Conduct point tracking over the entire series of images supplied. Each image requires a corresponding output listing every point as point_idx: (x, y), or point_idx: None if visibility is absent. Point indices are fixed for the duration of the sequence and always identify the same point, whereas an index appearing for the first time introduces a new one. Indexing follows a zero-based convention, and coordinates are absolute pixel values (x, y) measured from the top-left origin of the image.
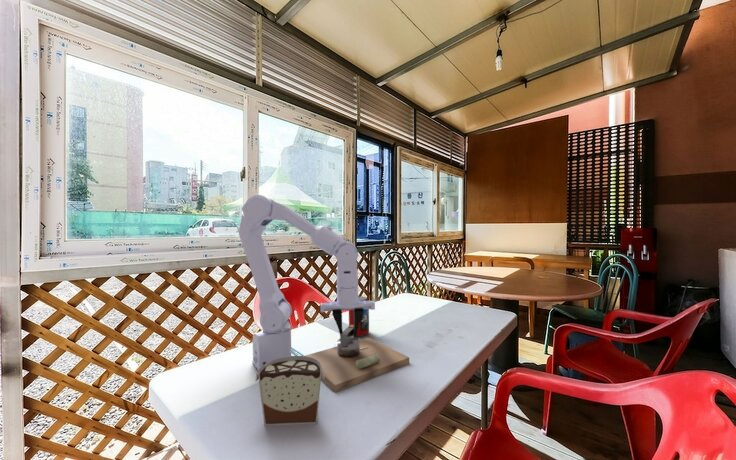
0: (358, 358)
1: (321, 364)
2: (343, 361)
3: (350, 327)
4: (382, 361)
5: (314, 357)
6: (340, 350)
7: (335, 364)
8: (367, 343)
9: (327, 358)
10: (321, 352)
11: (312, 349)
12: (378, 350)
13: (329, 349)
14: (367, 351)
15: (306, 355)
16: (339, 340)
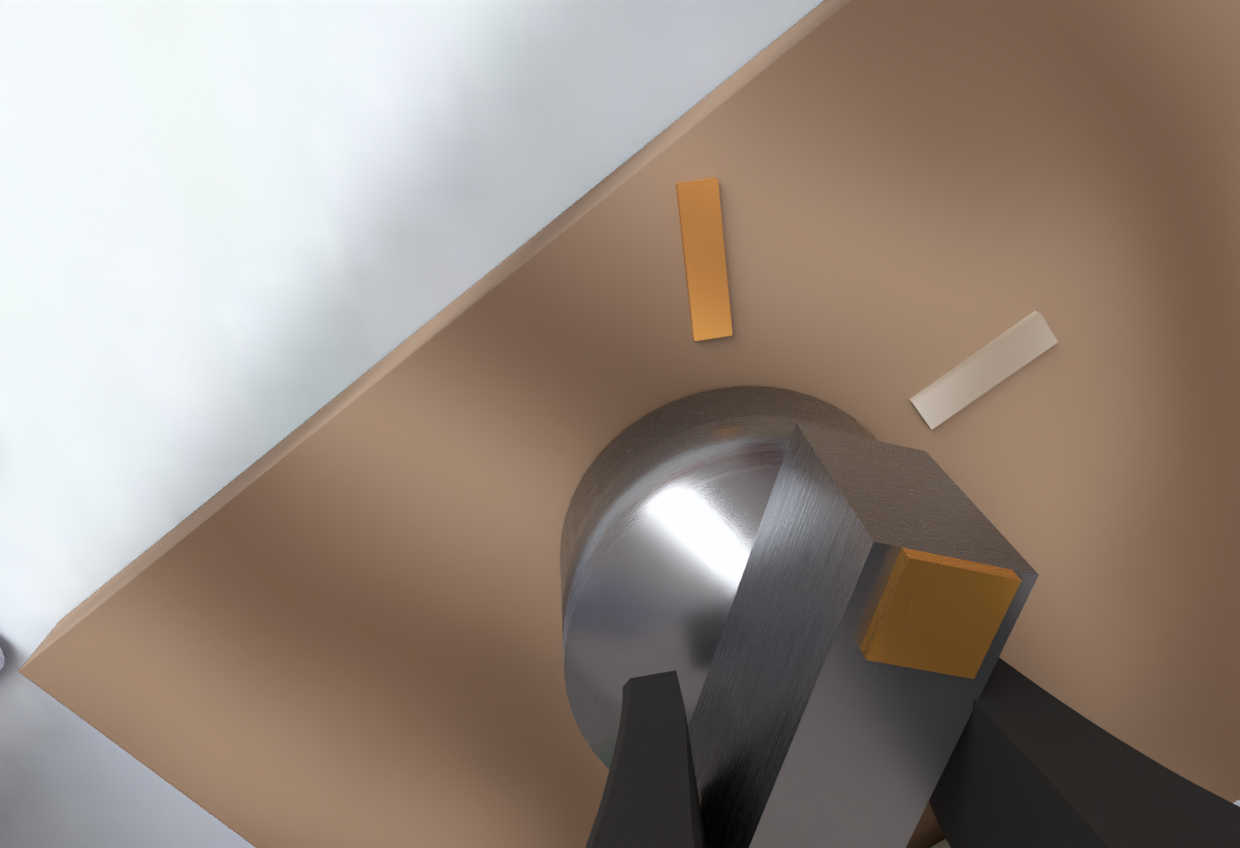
0: None
1: (409, 846)
2: None
3: (898, 679)
4: (1168, 740)
5: (240, 685)
6: None
7: (587, 834)
8: (1078, 137)
9: (445, 707)
10: (287, 526)
11: (9, 156)
12: (1202, 437)
13: (391, 413)
14: (1027, 474)
15: (83, 633)
16: (602, 638)
